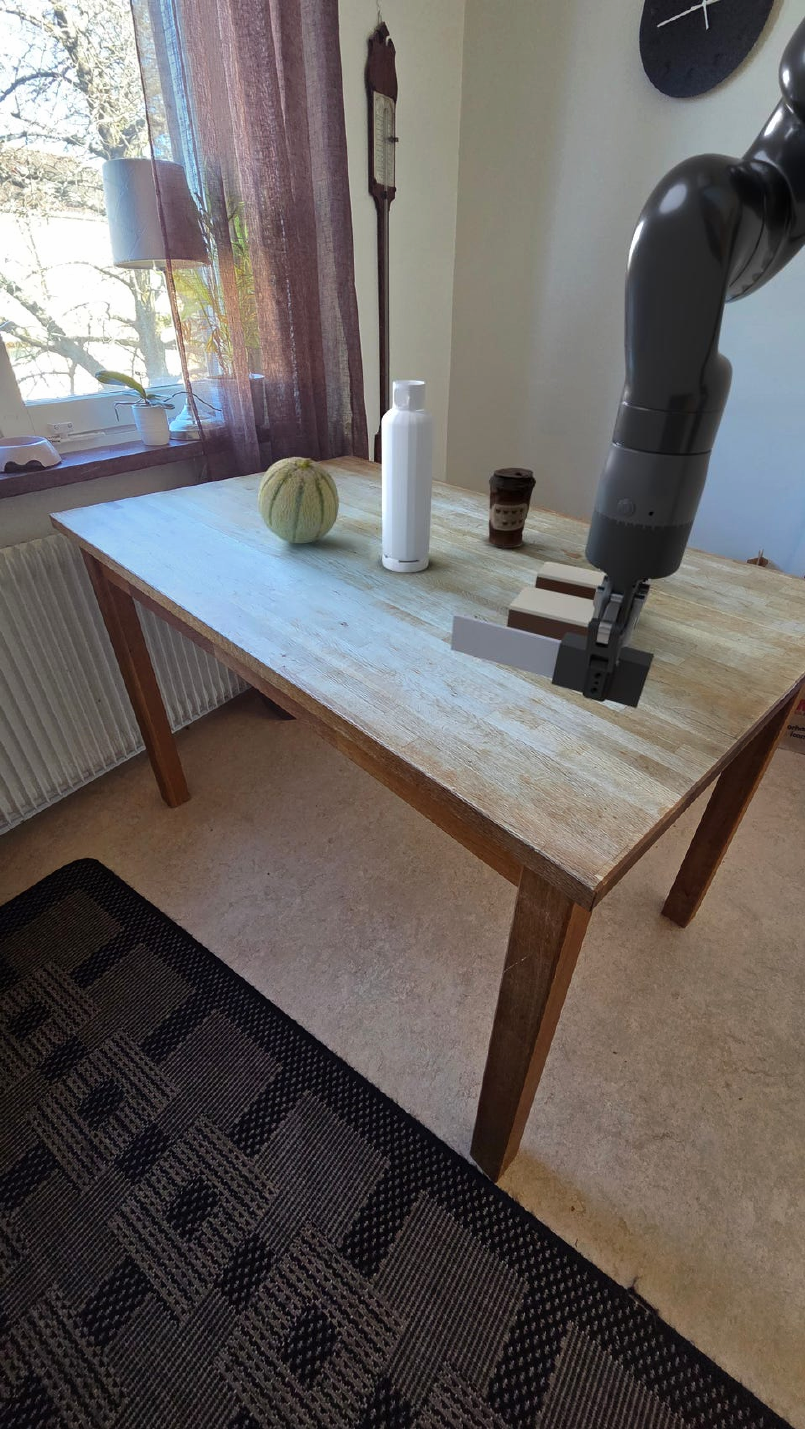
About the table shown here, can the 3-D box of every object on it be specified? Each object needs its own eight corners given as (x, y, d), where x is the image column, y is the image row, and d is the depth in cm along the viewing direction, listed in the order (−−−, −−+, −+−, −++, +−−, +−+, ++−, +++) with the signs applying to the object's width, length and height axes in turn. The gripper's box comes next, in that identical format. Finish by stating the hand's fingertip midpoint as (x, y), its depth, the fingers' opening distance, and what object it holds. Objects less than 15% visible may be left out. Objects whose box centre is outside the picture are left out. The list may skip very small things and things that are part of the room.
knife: (641, 694, 57) (654, 653, 54) (636, 708, 55) (649, 666, 52) (456, 643, 63) (460, 604, 61) (446, 654, 62) (449, 614, 59)
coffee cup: (530, 552, 111) (541, 479, 103) (485, 551, 111) (492, 478, 103) (523, 535, 118) (533, 465, 110) (481, 534, 118) (487, 464, 110)
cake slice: (617, 614, 91) (627, 577, 87) (610, 628, 87) (620, 589, 84) (540, 597, 95) (546, 561, 92) (531, 609, 92) (537, 572, 88)
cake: (603, 643, 84) (612, 604, 80) (591, 667, 79) (600, 626, 75) (520, 623, 88) (526, 585, 84) (504, 644, 83) (509, 605, 79)
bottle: (437, 561, 106) (446, 382, 90) (410, 576, 101) (415, 388, 84) (400, 551, 110) (403, 377, 93) (373, 564, 105) (370, 382, 88)
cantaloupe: (277, 524, 120) (268, 444, 111) (348, 529, 119) (345, 448, 110) (250, 552, 108) (238, 464, 100) (329, 558, 107) (324, 469, 98)
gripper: (684, 543, 40) (623, 742, 51) (705, 490, 50) (650, 665, 61) (574, 523, 43) (537, 716, 54) (614, 477, 53) (577, 647, 64)
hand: (597, 688), depth 57 cm, fingers closed on knife, 2 cm apart
